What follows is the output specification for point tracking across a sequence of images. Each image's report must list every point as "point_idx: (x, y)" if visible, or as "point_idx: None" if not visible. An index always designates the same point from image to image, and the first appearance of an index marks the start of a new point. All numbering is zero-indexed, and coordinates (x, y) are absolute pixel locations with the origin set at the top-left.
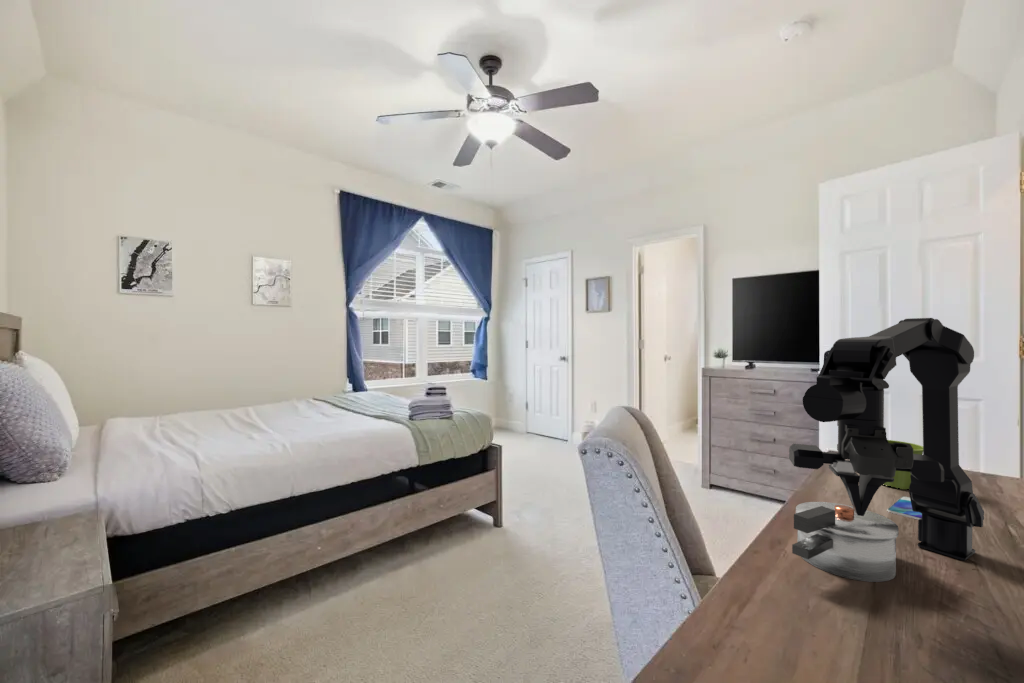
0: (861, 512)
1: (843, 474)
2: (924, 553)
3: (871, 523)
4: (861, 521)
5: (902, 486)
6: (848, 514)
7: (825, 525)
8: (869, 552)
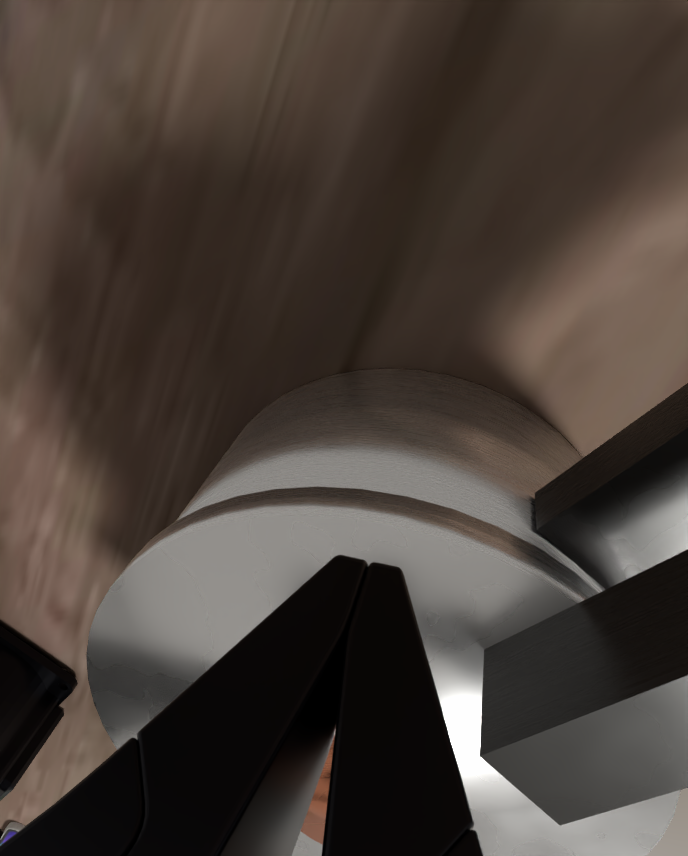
0: (354, 580)
1: None
2: (71, 641)
3: None
4: None
5: None
6: None
7: (608, 603)
8: (330, 449)
